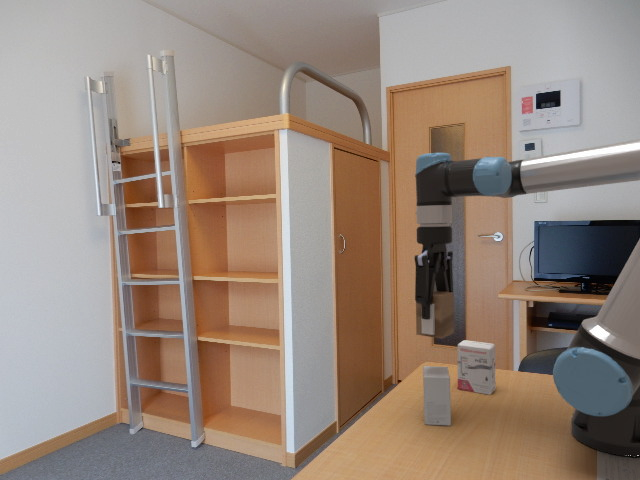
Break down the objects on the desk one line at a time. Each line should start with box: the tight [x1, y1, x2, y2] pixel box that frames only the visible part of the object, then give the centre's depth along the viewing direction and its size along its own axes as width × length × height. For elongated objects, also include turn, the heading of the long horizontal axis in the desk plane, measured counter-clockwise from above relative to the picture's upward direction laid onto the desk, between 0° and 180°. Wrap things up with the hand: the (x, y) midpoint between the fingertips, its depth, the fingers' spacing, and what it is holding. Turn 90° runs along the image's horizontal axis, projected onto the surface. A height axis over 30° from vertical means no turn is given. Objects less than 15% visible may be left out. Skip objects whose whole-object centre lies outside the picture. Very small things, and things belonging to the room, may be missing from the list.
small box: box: [422, 365, 452, 427], centre depth 104 cm, size 8×6×10 cm
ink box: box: [457, 339, 496, 396], centre depth 121 cm, size 9×5×12 cm, turn 55°
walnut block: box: [415, 290, 455, 339], centre depth 103 cm, size 6×6×9 cm
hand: (435, 330), depth 104 cm, fingers closed on walnut block, 6 cm apart
